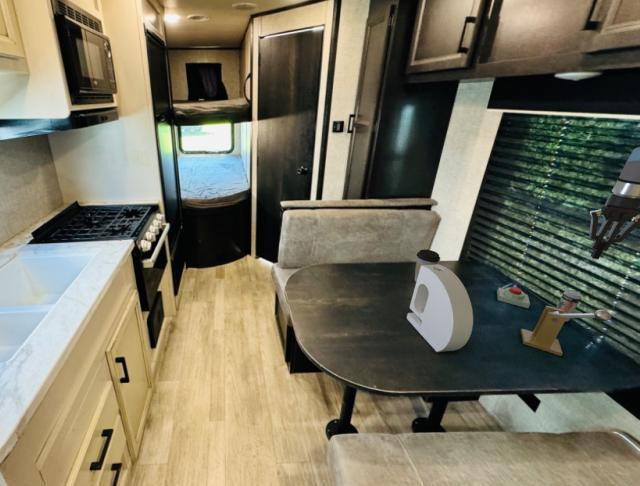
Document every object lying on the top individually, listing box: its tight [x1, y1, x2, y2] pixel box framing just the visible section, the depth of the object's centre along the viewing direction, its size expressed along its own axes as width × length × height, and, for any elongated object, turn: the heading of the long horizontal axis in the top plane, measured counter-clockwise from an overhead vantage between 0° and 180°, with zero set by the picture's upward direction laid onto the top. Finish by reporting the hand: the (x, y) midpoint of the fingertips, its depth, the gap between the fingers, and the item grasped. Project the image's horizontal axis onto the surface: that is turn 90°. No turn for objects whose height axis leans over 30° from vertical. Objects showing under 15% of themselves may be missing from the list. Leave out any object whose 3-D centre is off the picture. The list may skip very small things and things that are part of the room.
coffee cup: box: [414, 248, 441, 283], centre depth 144 cm, size 9×9×15 cm
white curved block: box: [406, 263, 474, 353], centre depth 109 cm, size 7×21×25 cm, turn 6°
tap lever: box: [547, 309, 612, 322], centre depth 102 cm, size 14×4×4 cm, turn 55°
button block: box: [496, 287, 531, 309], centre depth 133 cm, size 10×8×4 cm
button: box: [510, 286, 523, 295], centre depth 132 cm, size 4×4×2 cm
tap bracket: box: [520, 305, 566, 357], centre depth 108 cm, size 10×8×14 cm
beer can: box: [555, 289, 582, 322], centre depth 120 cm, size 5×5×12 cm
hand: (594, 257), depth 113 cm, fingers closed
